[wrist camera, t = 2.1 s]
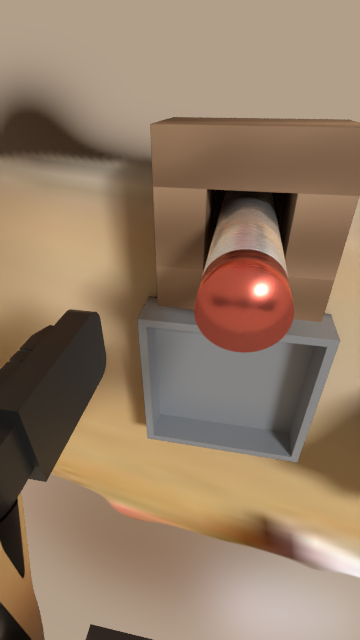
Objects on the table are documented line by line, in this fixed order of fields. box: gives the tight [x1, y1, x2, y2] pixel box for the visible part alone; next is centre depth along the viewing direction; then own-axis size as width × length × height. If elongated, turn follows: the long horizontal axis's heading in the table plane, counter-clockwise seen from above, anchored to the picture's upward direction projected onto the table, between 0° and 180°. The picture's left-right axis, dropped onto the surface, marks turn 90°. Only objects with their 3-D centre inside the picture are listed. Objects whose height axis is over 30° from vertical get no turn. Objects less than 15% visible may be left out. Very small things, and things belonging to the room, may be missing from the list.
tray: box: [137, 297, 340, 462], centre depth 26 cm, size 13×13×3 cm
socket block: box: [150, 117, 360, 322], centre depth 18 cm, size 9×9×5 cm
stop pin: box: [194, 190, 294, 353], centre depth 15 cm, size 3×3×12 cm
